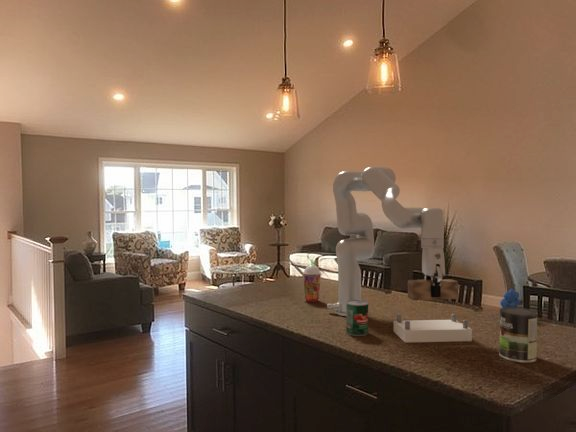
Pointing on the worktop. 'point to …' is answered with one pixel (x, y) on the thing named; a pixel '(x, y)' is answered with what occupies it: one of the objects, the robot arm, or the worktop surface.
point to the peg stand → (432, 330)
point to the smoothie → (312, 282)
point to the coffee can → (518, 334)
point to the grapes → (510, 299)
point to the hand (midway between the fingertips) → (432, 294)
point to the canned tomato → (357, 317)
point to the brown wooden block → (423, 289)
